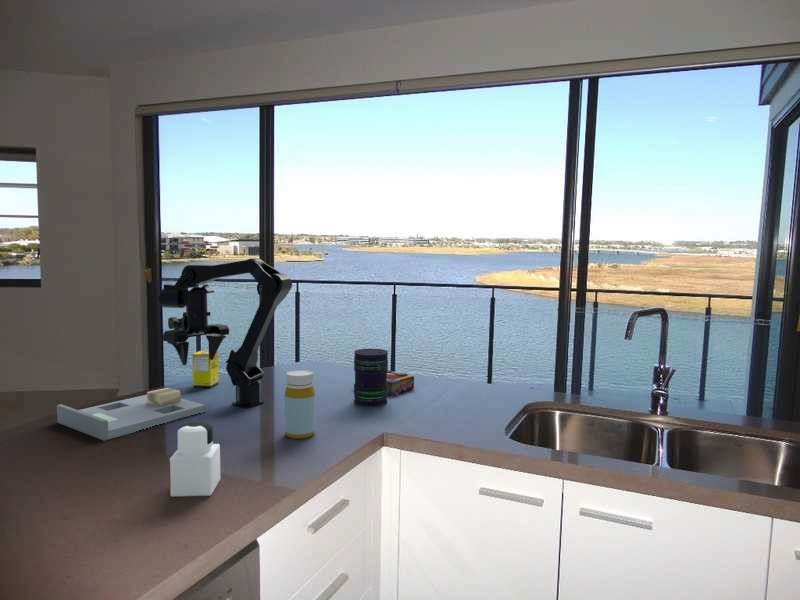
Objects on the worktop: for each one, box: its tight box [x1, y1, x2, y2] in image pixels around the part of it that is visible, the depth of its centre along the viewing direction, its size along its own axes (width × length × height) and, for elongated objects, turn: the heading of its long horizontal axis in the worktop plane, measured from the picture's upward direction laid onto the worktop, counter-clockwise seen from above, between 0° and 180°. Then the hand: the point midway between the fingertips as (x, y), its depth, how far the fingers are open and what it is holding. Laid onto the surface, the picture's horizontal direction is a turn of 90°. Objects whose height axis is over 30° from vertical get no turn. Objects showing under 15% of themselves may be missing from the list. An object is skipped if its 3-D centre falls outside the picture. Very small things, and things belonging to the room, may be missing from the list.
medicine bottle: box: [169, 420, 221, 498], centre depth 99 cm, size 7×7×12 cm
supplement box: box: [191, 350, 220, 389], centre depth 173 cm, size 6×6×11 cm
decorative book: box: [387, 370, 415, 397], centre depth 173 cm, size 11×16×5 cm
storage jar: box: [353, 348, 389, 408], centre depth 156 cm, size 10×10×15 cm
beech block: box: [146, 387, 182, 407], centre depth 147 cm, size 6×6×3 cm
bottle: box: [284, 369, 316, 440], centre depth 128 cm, size 7×7×15 cm
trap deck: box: [56, 394, 206, 442], centre depth 140 cm, size 22×27×4 cm
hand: (198, 362), depth 156 cm, fingers open, 9 cm apart
